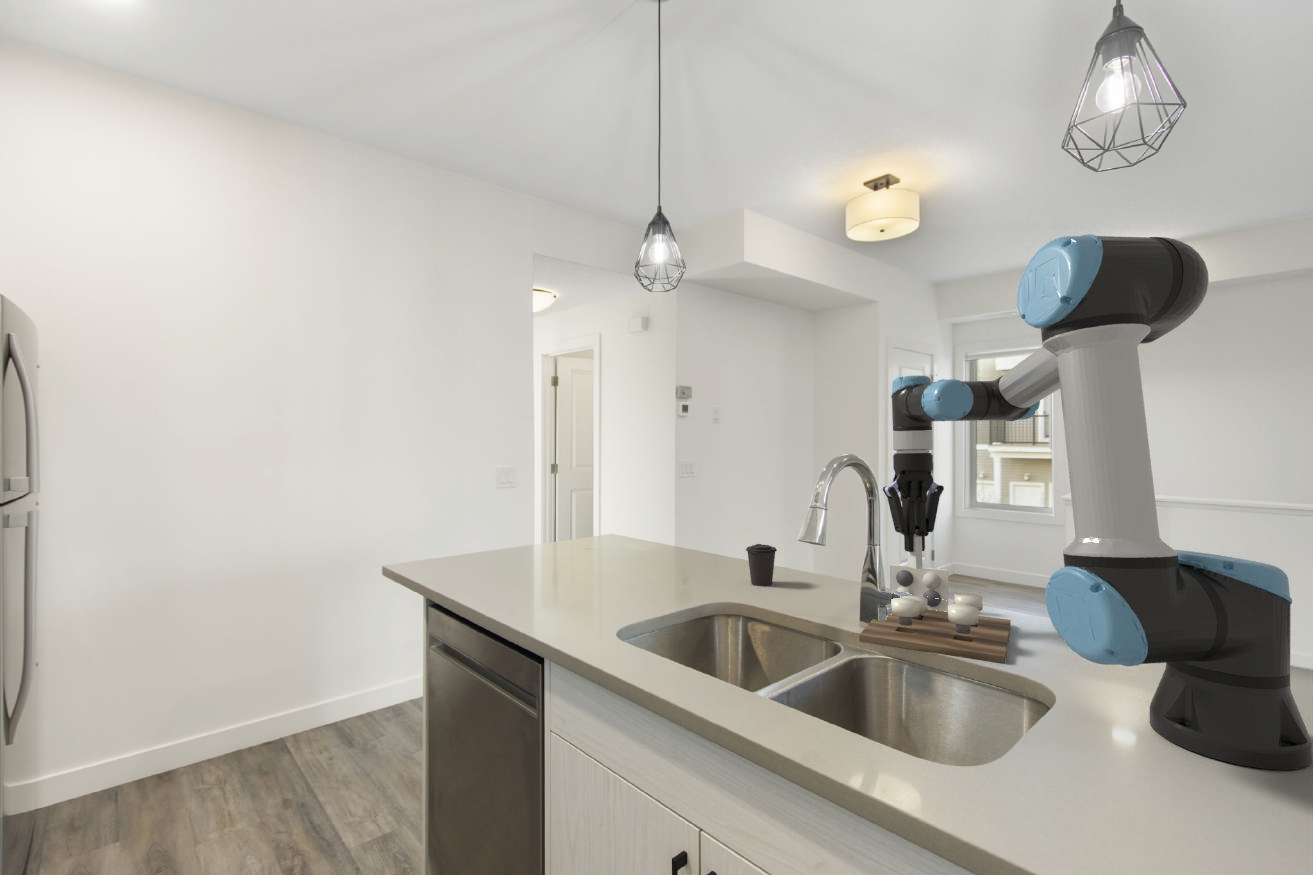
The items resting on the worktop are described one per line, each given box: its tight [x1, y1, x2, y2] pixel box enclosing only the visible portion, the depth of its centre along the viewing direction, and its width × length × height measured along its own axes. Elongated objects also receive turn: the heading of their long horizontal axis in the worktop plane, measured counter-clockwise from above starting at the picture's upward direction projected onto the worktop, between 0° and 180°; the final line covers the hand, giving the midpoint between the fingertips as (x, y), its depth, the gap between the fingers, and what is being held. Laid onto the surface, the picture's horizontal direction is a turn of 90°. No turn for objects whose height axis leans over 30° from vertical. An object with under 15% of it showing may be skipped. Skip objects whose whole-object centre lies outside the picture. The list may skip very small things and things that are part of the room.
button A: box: [948, 603, 979, 634], centre depth 116 cm, size 5×5×4 cm
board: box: [858, 610, 1012, 665], centre depth 123 cm, size 24×24×1 cm
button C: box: [953, 591, 984, 612], centre depth 124 cm, size 5×5×4 cm
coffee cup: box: [745, 543, 778, 587], centre depth 165 cm, size 8×8×10 cm
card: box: [889, 563, 950, 612], centre depth 142 cm, size 4×12×9 cm, turn 59°
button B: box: [891, 597, 919, 626], centre depth 121 cm, size 5×5×4 cm
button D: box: [901, 595, 928, 620], centre depth 130 cm, size 5×5×4 cm
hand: (915, 567), depth 129 cm, fingers closed
